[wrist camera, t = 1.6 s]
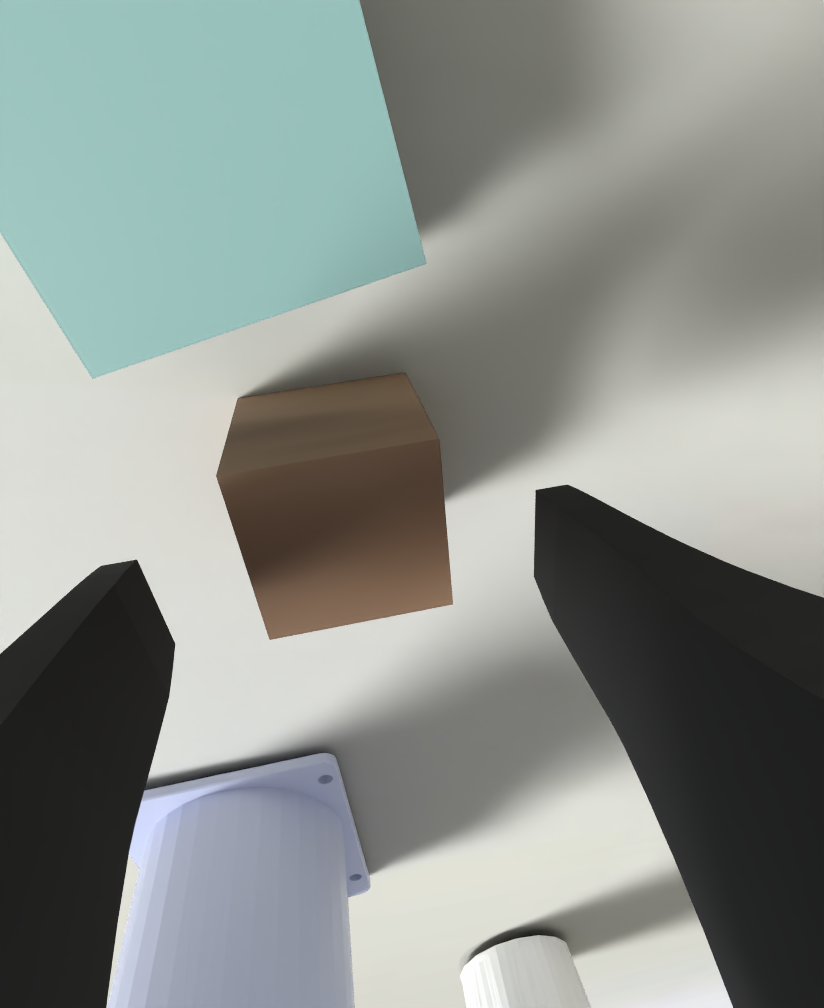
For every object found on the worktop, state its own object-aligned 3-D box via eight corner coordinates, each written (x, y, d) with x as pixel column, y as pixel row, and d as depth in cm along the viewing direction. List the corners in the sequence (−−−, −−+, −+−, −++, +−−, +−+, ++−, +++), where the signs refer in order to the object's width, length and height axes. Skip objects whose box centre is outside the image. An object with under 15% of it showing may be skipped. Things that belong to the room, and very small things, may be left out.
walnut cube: (420, 510, 16) (453, 604, 12) (276, 535, 15) (269, 639, 12) (404, 371, 14) (438, 438, 10) (238, 397, 13) (216, 476, 10)
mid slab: (400, 244, 10) (426, 263, 8) (136, 334, 10) (92, 378, 8) (290, -155, 7) (287, -286, 5) (-67, -30, 7) (-216, -110, 5)
